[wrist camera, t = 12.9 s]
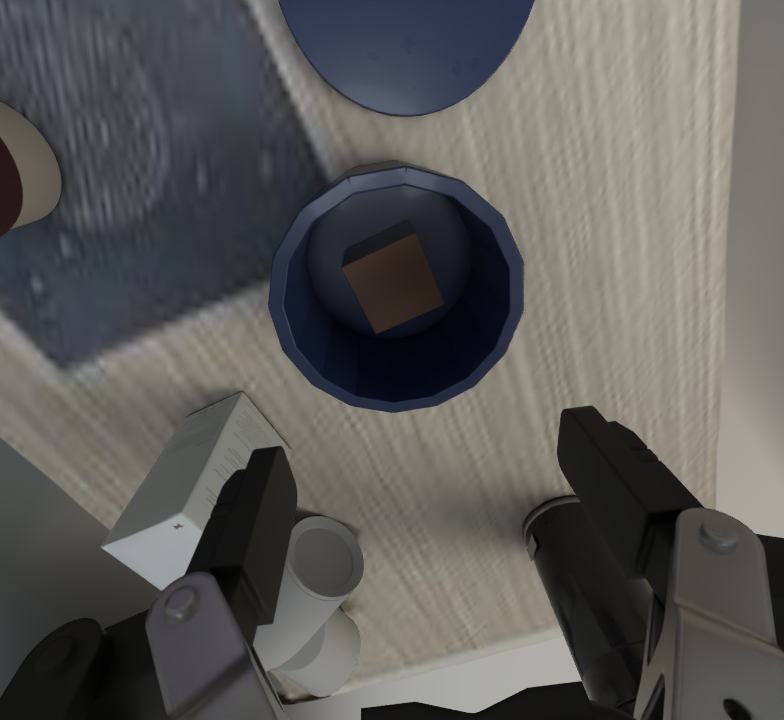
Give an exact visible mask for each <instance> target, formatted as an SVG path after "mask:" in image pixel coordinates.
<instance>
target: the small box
mask: <svg viewBox="0 0 784 720" xmlns="http://www.w3.org/2000/svg"><path fill="white" fill-rule="evenodd" d="M274 446H282V447H283V448H284V451H285V453H286V456H287V459H288V462H289V460H290V456H291V450H290V448H289V447H288V446H287V445H286V444H285V442H284V441H283V440H282V439H281V437H280V436H279V435H278V434H277V432H276V431H275V430H274V429H273V428H272V426H271V425H270V424H269V423H268V421H267V420H266V419H265V418H264V417H263V415H262V414H261V413H260V412H259V411H258V409H257V408H256V407H255V406H254V404H253V403H252V402H251V401H250V400H249V398H248V397H247V396H246V395H245V393H244V392H239V393H237V394H235V395H233V396H231V397H229V398H226V399H224V400H222V401H220V402H218V403H216V404H214V405H211V406H209V407H207V408H205V409H203V410H201V411H199V412H196V413H194V414H192V415H190V416H188V417H186V418H185V419H184V420H183V421H182V423H181V424H180V426H179V427H178V429H177V431H176V432H175V434H174V435H173V437H172V438H171V440H170V441H169V443H168V444H167V446H166V447H165V449H164V450H163V452H162V453H161V455H160V456H159V458H158V459H157V461H156V462H155V464H154V466H153V467H152V469H151V470H150V472H149V473H148V475H147V476H146V478H145V480H144V481H143V483H142V484H141V485H140V487H139V489H138V490H137V492H136V493H135V495H134V496H133V498H132V499H131V501H130V502H129V504H128V506H127V507H126V509H125V510H124V512H123V513H122V515H121V516H120V518H119V519H118V521H117V522H116V524H115V526H114V527H113V529H112V530H111V532H110V533H109V535H108V536H107V538H106V540H105V541H104V543H103V544H102V546H101V548H102V549H104V550H105V551H107V552H108V553H110V554H111V555H112V556H114V557H115V558H117V559H118V560H119V561H121V562H122V563H124V564H125V565H126V566H128V567H129V568H131V569H132V570H133V571H135V572H136V573H137V574H139V575H140V576H142V577H143V578H145V579H146V580H147V581H149V582H150V583H152V584H153V585H154V586H156V587H157V588H158V589H160V590H161V591H162V590H163V589H165V588H166V587H167V586H168V585H169V584H170V583H172V582H173V581H175V580H176V579H178V578H180V577H182V576H184V574H185V572H186V570H187V568H188V566H189V563H190V561H191V559H192V556H193V554H194V552H195V549H196V547H197V545H198V542H199V540H200V538H201V535H202V533H203V531H204V528H205V526H206V524H207V521H208V519H209V518H210V517H211V516H210V514H211V512H212V510H213V507H214V505H216V501H217V498H218V496H219V494H220V491H221V489H222V487H223V485H224V483H225V482H226V481H227V480H228V479H229V478H230V477H231V476H232V474H233V473H234V472H235V471H236V470H240V469H246V467H247V464H248V461H249V459H250V456H251V454H252V452H253V450H254V449H259V448H266V447H274Z"/></svg>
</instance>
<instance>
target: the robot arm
mask: <svg viewBox="0 0 784 720" xmlns="http://www.w3.org/2000/svg"><path fill="white" fill-rule="evenodd" d="M557 457H558V462H559V465H560V468H561V470H562V472H563V474H564V476H565V477H566V479H567V481H568V482H569V484H570V486H571V487H572V489H573V491H574V492H575V494H576V496H577V497H564V498H559V499H556V500H553V501H550V502H548V503H546V504H544V505H542V506H540V507H539V508H537V509H536V510H535V511H534V512H533V513H531V515H530V516H529V517H528V518H527V520H526V521H525V523H524V526H523V531H522V533H523V537H524V540H525V542H526V545H527V546H528V548H527V551H528V554H529V556H530V559H531V561H532V559H533V560H534V563H535V565H536V568H537V571H538V573H539V575H540V578H541V580H542V583H543V585H544V588H545V590H546V593H547V595H548V598H549V600H550V603H551V605H552V608H553V610H554V613H555V615H556V618H557V620H558V623H559V625H560V628H561V630H562V632H563V635H564V637H565V640H566V642H567V645H568V647H569V650H570V652H571V655H572V657H573V660H574V662H575V665H576V667H577V670H578V672H579V675H580V677H581V680H582V681H579V682H571V683H563V684H555V685H547V686H539V687H531V688H526V689H524V690H522V691H520V692H518V693H516V694H514V695H512V696H510V697H508V698H506V699H504V700H502V701H500V702H498V703H496V704H494V705H492V706H490V707H488V708H486V709H484V710H482V711H480V712H477V713H466V712H462V711H457V710H452V709H447V708H442V707H438V706H433V705H428V704H423V703H418V702H411V703H410V702H409V703H401V704H394V705H385V706H377V707H369V708H361V720H784V538H779V537H772V536H765V535H759V534H755V533H754V532H753V531H752V530H750V529H749V528H748V527H747V526H746V525H744V524H743V523H742V522H740V521H739V520H737V519H735V518H733V517H731V516H729V515H727V514H725V513H722V512H719V511H716V510H712V509H707V508H704V507H703V506H702V504H701V503H700V502H699V501H698V500H697V499H696V498H695V497H694V496H693V495H692V494H691V493H690V492H689V491H688V490H687V488H686V487H685V486H684V485H683V484H682V483H681V482H680V481H679V480H678V479H677V478H676V477H675V476H674V475H673V473H672V472H671V471H670V470H669V469H668V468H667V467H666V466H665V465H664V464H663V463H662V462H661V461H659V460H658V457H657V456H656V455H655V454H654V453H653V452H652V451H651V450H650V449H647V446H646V445H645V444H644V442H643V441H642V440H641V439H640V438H639V437H638V436H637V435H636V434H635V433H634V432H633V431H631V430H629V429H628V428H626V427H624V426H623V425H621V424H619V423H617V422H616V421H612V422H607V421H606V420H605V419H604V417H603V416H602V415H601V414H600V413H599V412H598V411H597V409H596V408H595V407H593V406H584V407H576V408H568V409H564V410H563V411H562V413H561V418H560V427H559V436H558V445H557ZM296 507H297V488H296V483H295V480H294V477H293V474H292V471H291V468H290V465H289V462H288V459H287V456H286V453H285V451H284V448H283V447H282V446H274V447H266V448H259V449H254V450H253V452H252V454H251V456H250V459H249V461H248V464H247V467H246V469H240V470H236V471H235V472H234V473H233V474H232V476H231V477H230V478H229V479H228V480H227V481H226V482H225V483H224V485H223V487H222V489H221V491H220V494H219V496H218V498H217V501H216V505H214V507H213V510H212V512H211V514H210V516H211V517H210V518H209V519H208V521H207V524H206V526H205V528H204V531H203V533H202V535H201V538H200V540H199V542H198V545H197V547H196V549H195V552H194V554H193V556H192V559H191V561H190V563H189V566H188V568H187V570H186V572H185V574H184V576H182V577H180V578H178V579H176V580H175V581H173V582H172V583H170V584H169V585H168V586H167V587H166V588H165V589H163V590H162V592H161V593H160V594H159V595H158V596H157V597H156V599H155V600H154V602H153V603H152V605H151V607H150V609H148V610H146V611H144V612H142V613H139V614H137V615H135V616H132V617H130V618H128V619H126V620H123V621H121V622H119V623H116V624H114V625H112V626H109V627H107V628H105V629H103V628H102V626H101V625H100V624H99V623H98V622H97V621H96V620H94V619H91V618H81V619H77V620H74V621H71V622H68V623H66V624H64V625H63V626H61V627H59V628H58V629H56V630H54V631H53V632H51V633H50V634H49V635H48V636H46V637H45V638H44V639H43V640H42V641H41V642H39V643H38V644H37V646H35V648H34V649H33V650H32V651H31V652H30V653H29V654H28V656H27V657H26V658H25V660H24V661H23V663H22V664H21V666H20V667H19V669H18V670H17V672H16V674H15V675H14V677H13V678H12V680H11V682H10V683H9V685H8V686H7V688H6V690H5V691H4V693H3V695H2V696H1V698H0V720H162V719H164V718H166V717H167V719H168V720H289V719H288V716H287V714H286V712H285V710H284V708H283V706H282V704H281V702H280V700H279V697H278V695H277V693H276V691H275V689H274V687H273V685H272V683H271V681H270V679H269V677H268V675H267V672H266V670H265V668H264V666H263V664H262V662H261V660H260V658H259V656H258V654H257V651H256V649H255V647H254V646H253V643H254V639H255V634H256V630H257V626H262V625H270V624H273V622H274V617H275V612H276V607H277V602H278V597H279V592H280V587H281V582H282V577H283V572H284V567H285V562H286V557H287V552H288V547H289V542H290V537H291V532H292V527H293V522H294V517H295V512H296ZM582 682H583V683H582ZM583 684H584V685H583ZM584 687H585V688H584ZM585 689H586V690H585ZM586 692H587V693H586ZM587 694H588V695H587ZM588 697H589V698H588ZM589 699H590V700H589Z"/></svg>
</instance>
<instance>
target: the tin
mask: <svg viewBox="0 0 784 720" xmlns="http://www.w3.org/2000/svg"><path fill="white" fill-rule="evenodd" d="M407 219H409V221H410V223H411V224H412V226H413V228H414V230H415V231H416V233H417V236H418V238H419V241H420V243H421V246H422V248H423V251H424V253H425V256H426V258H427V260H428V263H429V265H430V268H431V270H432V273H433V275H434V278H435V280H436V283H437V285H438V288H439V290H440V293H441V295H442V297H443V300H444V302H445V305H442V306H440V307H438V308H436V309H433V310H431V311H429V312H426V313H424V314H422V315H419V316H417V317H415V318H413V319H410V320H408V321H406V322H403V323H401V324H399V325H397V326H394V327H392V328H390V329H387V330H385V331H383V332H380V333H378V334H375V332H374V330H373V328H372V326H371V324H370V322H369V321H368V319H367V317H366V315H365V313H364V311H363V309H362V307H361V305H360V303H359V301H358V300H357V298H356V296H355V294H354V292H353V290H352V288H351V286H350V284H349V282H348V280H347V279H346V277H345V275H344V273H343V271H342V269H341V266H342V261H343V257H344V252H345V249H346V248H348V247H350V246H353V245H355V244H357V243H359V242H361V241H363V240H365V239H367V238H369V237H371V236H373V235H375V234H378V233H380V232H382V231H384V230H386V229H388V228H390V227H392V226H394V225H396V224H398V223H401V222H403V221H405V220H407ZM268 306H269V307H268V308H269V311H270V314H271V317H272V320H273V323H274V326H275V329H276V332H277V335H278V338H279V341H280V344H281V347H282V350H283V351H284V353H285V354H286V355H287V356H288V357H289V359H290V360H291V361H292V362H293V363H294V364H295V366H296V367H297V368H298V369H299V370H300V371H301V373H302V374H303V375H304V376H305V377H306V378H307V379H308V381H309V382H310V383H311V384H312V385H314V386H315V387H317V388H319V389H321V390H322V391H324V392H326V393H328V394H330V395H332V396H334V397H335V398H337V399H339V400H341V401H343V402H345V403H346V404H348V405H351V406H354V407H360V408H367V409H373V410H379V411H385V412H391V413H393V412H394V413H396V412H402V411H408V410H414V409H420V408H426V407H433V406H437V405H439V404H441V403H443V402H445V401H447V400H449V399H451V398H453V397H455V396H457V395H459V394H461V393H462V392H464V391H466V390H468V389H470V388H472V387H474V386H475V385H476V384H477V383H478V382H479V381H480V380H481V379H482V378H483V377H484V376H485V375H486V374H487V373H488V371H489V370H490V369H491V368H492V367H493V366H494V365H495V364H496V363H497V362H498V361H499V360H500V359H501V358H502V357H503V356H504V355H505V353H506V351H507V349H508V347H509V344H510V342H511V339H512V337H513V335H514V332H515V330H516V328H517V325H518V323H519V321H520V318H521V316H522V314H523V311H524V261H523V259H522V257H521V254H520V252H519V250H518V248H517V245H516V243H515V241H514V239H513V236H512V234H511V232H510V230H509V227H508V225H507V223H506V220H505V218H504V217H503V215H502V214H501V213H499V212H498V211H497V210H496V209H495V208H494V207H492V206H491V205H490V204H489V203H488V202H487V201H485V200H484V199H483V198H482V197H481V196H480V195H478V194H477V193H476V192H475V191H474V190H473V189H471V188H470V187H469V186H468V185H467V184H466V183H464V182H463V181H461V180H459V179H456V178H453V177H450V176H448V175H445V174H442V173H439V172H436V171H433V170H430V169H426V168H423V167H419V166H415V165H411V164H408V163H404V162H400V161H397V160H395V161H394V160H391V161H385V162H380V163H373V164H369V165H363V166H358V167H354V168H352V169H350V170H349V171H348V172H346V173H345V174H343V175H342V176H340V177H339V178H337V179H336V180H335V181H333V182H332V183H330V184H329V185H328V186H326V187H325V188H323V189H322V190H321V191H320V192H319V193H317V194H316V195H315V196H314V197H313V198H312V199H311V200H310V201H309V202H308V203H307V204H306V205H304V206H303V207H302V208H301V210H300V211H299V212H298V214H297V216H296V217H295V219H294V221H293V222H292V224H291V226H290V228H289V229H288V231H287V233H286V234H285V236H284V238H283V240H282V241H281V243H280V245H279V247H278V248H277V250H276V252H275V253H274V257H273V260H272V271H271V281H270V292H269V302H268Z"/></svg>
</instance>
